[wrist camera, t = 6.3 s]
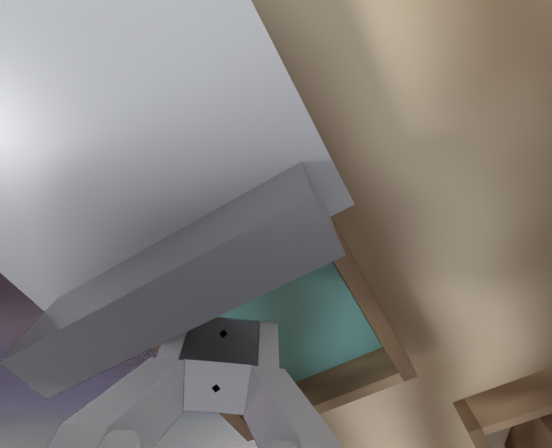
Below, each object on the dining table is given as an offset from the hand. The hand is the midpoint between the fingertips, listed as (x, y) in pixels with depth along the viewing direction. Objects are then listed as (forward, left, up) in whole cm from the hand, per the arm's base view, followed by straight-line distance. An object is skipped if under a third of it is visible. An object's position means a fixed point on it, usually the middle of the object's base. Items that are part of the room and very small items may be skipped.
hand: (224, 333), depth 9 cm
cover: (0, +5, -3) cm, 6 cm away
